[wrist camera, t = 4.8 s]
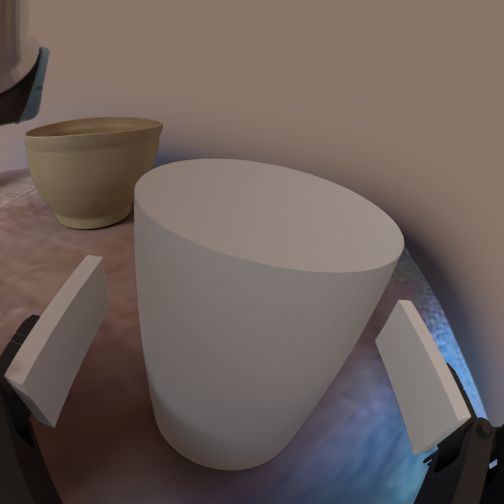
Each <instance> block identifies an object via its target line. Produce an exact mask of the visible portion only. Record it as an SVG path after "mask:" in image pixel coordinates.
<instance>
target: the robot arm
mask: <svg viewBox="0 0 504 504" xmlns="http://www.w3.org/2000/svg"><path fill="white" fill-rule="evenodd" d="M30 1H31V0H0V126H2V125H7V124H12V123H15V124H18V123H20V122H22V121H27V120H31V119H33V118H35V117H36V116H37V114H38V113H39V109H40V103H41V97H42V90H43V84H44V79H45V73H46V68H47V63H48V58H49V49H48V48H44V47H39V43H38V40H37V38H36V37H35V36H34V35H33V34H32V33H31V32H29V14H30ZM109 308H110V304H109V298H108V292H107V285H106V277H105V269H104V261H103V257H99V256H93V255H87V256H86V257H85V259H84V260H83V261H82V262H81V264H80V265H79V266H78V267H77V269H76V270H75V271H74V272H73V274H72V275H71V276H70V277H69V279H68V280H67V281H66V283H65V284H64V285H63V287H62V288H61V289H60V291H59V292H58V293H57V295H56V296H55V297H54V299H53V300H52V301H51V303H50V304H49V306H48V307H47V308H46V310H45V311H44V313H43V314H42V316H41V317H40V316H37V315H34V314H33V315H32V316H30V317H29V318H28V319H26V320H25V321H24V322H23V323H22V324H21V326H20V327H19V328H18V330H17V331H16V334H14V336H13V337H12V339H11V342H9V343H8V345H7V347H6V348H5V350H4V351H3V353H2V355H1V356H0V504H63V503H62V501H61V499H60V497H59V495H58V493H57V491H56V488H55V486H54V484H53V482H52V480H51V477H50V475H49V473H48V470H47V468H46V465H45V463H44V460H43V458H42V455H41V452H40V449H39V447H38V444H37V441H36V438H35V435H34V432H33V428H32V425H31V423H30V421H29V417H30V414H31V413H32V414H33V416H34V417H35V418H36V419H37V420H38V421H40V422H42V423H45V424H47V425H49V426H51V427H54V428H55V425H56V423H57V420H58V417H59V415H60V412H61V410H62V407H63V405H64V402H65V400H66V398H67V395H68V393H69V390H70V388H71V386H72V384H73V381H74V379H75V377H76V375H77V372H78V370H79V368H80V366H81V364H82V361H83V359H84V357H85V355H86V353H87V351H88V349H89V347H90V345H91V343H92V341H93V339H94V337H95V335H96V333H97V331H98V329H99V327H100V325H101V323H102V321H103V319H104V317H105V315H106V313H107V311H108V310H109ZM375 342H376V345H377V347H378V350H379V352H380V355H381V358H382V360H383V363H384V366H385V368H386V371H387V374H388V376H389V379H390V382H391V385H392V388H393V390H394V393H395V396H396V399H397V402H398V405H399V408H400V411H401V414H402V417H403V420H404V423H405V426H406V430H407V433H408V436H409V439H410V443H411V446H412V450H413V453H414V455H418V454H421V453H425V452H428V451H429V450H431V449H432V448H434V447H435V446H436V445H437V446H438V450H437V451H436V452H434V453H433V454H431V455H430V456H428V457H427V458H426V459H425V460H424V461H423V463H426V462H427V461H429V460H430V459H432V461H431V462H429V463H428V464H427V465H429V469H428V471H427V474H426V476H425V479H424V481H423V484H422V486H421V488H420V491H419V493H418V495H417V497H416V500H415V502H414V504H504V424H503V425H502V426H501V427H492V426H491V424H490V423H489V421H487V420H486V419H485V418H482V417H480V418H477V416H476V414H475V412H474V409H473V407H472V405H471V403H470V401H469V398H468V396H467V394H466V392H465V390H463V386H462V384H461V383H460V380H459V378H458V376H457V374H456V372H455V370H454V369H453V368H452V367H451V366H450V365H449V364H448V363H446V362H445V360H444V358H443V356H442V354H441V353H440V351H439V349H438V347H437V345H436V343H435V341H434V340H433V338H432V336H431V334H430V332H429V331H428V329H427V327H426V325H425V324H424V322H423V320H422V319H421V317H420V315H419V313H418V312H417V310H416V308H415V307H414V305H413V303H412V302H411V301H406V300H398V302H397V304H396V306H395V308H394V309H393V311H392V313H391V315H390V317H389V318H388V320H387V322H386V324H385V325H384V327H383V329H382V330H381V332H380V334H379V335H378V337H377V339H376V340H375ZM496 459H497V465H496V466H494V467H493V468H491V469H490V468H489V464H490V463H492V462H493V461H494V460H496Z"/></svg>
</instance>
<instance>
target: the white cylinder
mask: <svg viewBox="0 0 504 504" xmlns="http://www.w3.org/2000/svg"><path fill="white" fill-rule="evenodd" d="M134 242H135V268H136V284H137V298H138V309H139V320H140V329H141V337H142V345H143V353H144V360H145V367H146V373H147V379H148V385H149V391H150V396H151V401H152V407H153V412H154V416H155V420H156V423H157V426H158V428H159V430H160V432H161V434H162V435H163V437H164V438H165V440H166V441H167V442H168V443H169V444H170V445H171V446H172V447H173V448H174V449H175V450H176V451H177V452H178V453H180V454H181V455H182V456H184V457H185V458H187V459H189V460H191V461H193V462H195V463H197V464H199V465H202V466H205V467H209V468H213V469H218V470H243V469H248V468H252V467H256V466H259V465H261V464H263V463H266V462H268V461H269V460H271V459H273V458H274V457H275V456H277V455H278V454H279V453H280V452H281V451H282V450H283V449H284V448H285V447H286V446H287V444H288V443H289V442H290V441H291V439H292V438H293V437H294V435H295V434H296V433H297V432H298V430H299V429H300V428H301V426H302V425H303V424H304V422H305V421H306V419H307V418H308V417H309V415H310V414H311V413H312V411H313V410H314V408H315V407H316V405H317V404H318V403H319V401H320V400H321V398H322V397H323V395H324V394H325V392H326V391H327V389H328V388H329V386H330V385H331V383H332V382H333V380H334V379H335V377H336V375H337V374H338V372H339V371H340V369H341V367H342V366H343V364H344V363H345V361H346V359H347V358H348V356H349V354H350V353H351V351H352V349H353V348H354V346H355V344H356V342H357V341H358V339H359V337H360V335H361V334H362V332H363V330H364V328H365V326H366V325H367V323H368V321H369V319H370V317H371V315H372V313H373V312H374V310H375V308H376V306H377V304H378V302H379V300H380V298H381V296H382V294H383V292H384V290H385V288H386V286H387V284H388V282H389V279H390V277H391V275H392V273H393V271H394V269H395V267H396V264H397V262H398V260H399V258H400V255H401V253H402V251H403V248H404V239H403V235H402V233H401V231H400V229H399V228H398V226H397V225H396V223H395V222H394V221H393V220H392V219H391V218H390V217H389V216H388V215H387V214H386V213H385V212H384V211H382V210H381V209H380V208H379V207H377V206H376V205H374V204H373V203H372V202H370V201H368V200H367V199H365V198H363V197H362V196H360V195H358V194H356V193H355V192H352V191H351V190H349V189H347V188H344V187H342V186H340V185H338V184H335V183H333V182H330V181H328V180H325V179H323V178H320V177H316V176H314V175H311V174H308V173H304V172H301V171H298V170H293V169H290V168H286V167H282V166H277V165H271V164H267V163H260V162H253V161H246V160H236V159H235V160H234V159H195V160H194V159H193V160H185V161H179V162H173V163H169V164H166V165H162V166H159V167H157V168H154V169H152V170H150V171H149V172H147V173H145V174H144V175H143V176H142V177H141V178H140V179H139V180H138V182H137V183H136V185H135V190H134Z"/></svg>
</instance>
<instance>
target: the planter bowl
mask: <svg viewBox="0 0 504 504" xmlns="http://www.w3.org/2000/svg"><path fill="white" fill-rule="evenodd" d="M162 128H163V122H161V121H159V120H155V119H149V118H140V117H124V116H121V117H119V116H117V117H115V116H114V117H92V118H91V117H90V118H80V119H72V120H66V121H61V122H55V123H51V124H47V125H43V126H39V127H36V128H33V129H30V130H28V131H27V132H25V133H24V143H25V146H26V153H27V162H28V167H29V171H30V174H31V177H32V180H33V182H34V184H35V186H36V188H37V190H38V192H39V194H40V195H41V197H42V198H43V199H44V201H45V202H46V203H47V204H48V205H49V207H50V208H51V209H53V210H54V211H55V214H56V218H57V220H58V221H59V223H60V224H62V225H64V226H66V227H70V228H74V229H93V228H100V227H105V226H109V225H112V224H114V223H117V222H119V221H121V220H122V219H124V218H125V217H126V216H127V215H128V214H129V213H130V211H131V206H132V202H133V201H134V190H135V185H136V183H137V182H138V180H139V179H140V178H141V177H142V176H143V175H144V174H145V173H147V172H149V171H150V170H152V168H153V165H154V162H155V158H156V154H157V151H158V144H159V137H160V134H161V132H162Z"/></svg>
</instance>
